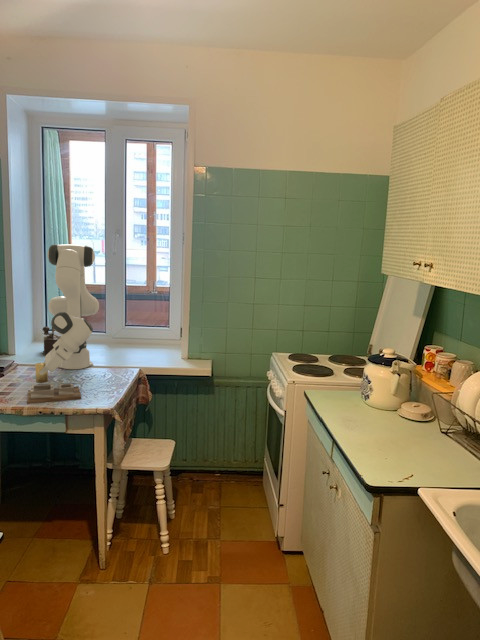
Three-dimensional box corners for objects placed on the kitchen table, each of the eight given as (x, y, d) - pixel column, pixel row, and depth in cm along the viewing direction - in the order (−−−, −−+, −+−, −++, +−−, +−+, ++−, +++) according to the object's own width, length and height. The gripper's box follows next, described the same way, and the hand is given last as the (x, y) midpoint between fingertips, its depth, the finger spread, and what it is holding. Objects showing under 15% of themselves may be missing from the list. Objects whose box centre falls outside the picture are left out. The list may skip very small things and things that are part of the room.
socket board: (28, 392, 220) (27, 383, 220) (78, 388, 229) (78, 380, 228) (27, 403, 207) (27, 394, 206) (81, 399, 215) (81, 390, 214)
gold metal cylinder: (36, 380, 216) (35, 362, 215) (48, 379, 218) (47, 362, 216) (35, 383, 211) (35, 365, 210) (48, 382, 213) (47, 365, 212)
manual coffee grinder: (42, 351, 295) (41, 322, 292) (61, 350, 299) (61, 321, 296) (43, 357, 281) (42, 327, 278) (63, 356, 285) (62, 326, 282)
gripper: (56, 339, 224) (34, 361, 222) (58, 349, 205) (34, 373, 203) (67, 348, 226) (45, 370, 224) (69, 359, 208) (45, 382, 206)
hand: (40, 371), depth 214 cm, fingers closed on gold metal cylinder, 5 cm apart
